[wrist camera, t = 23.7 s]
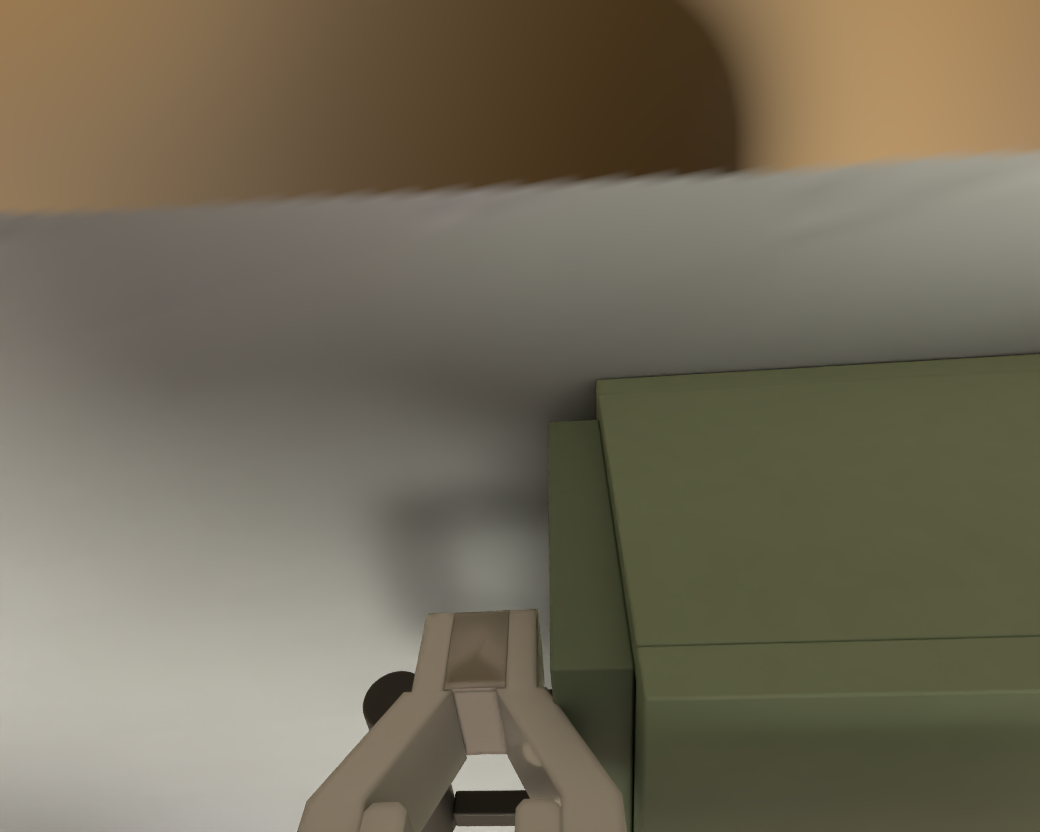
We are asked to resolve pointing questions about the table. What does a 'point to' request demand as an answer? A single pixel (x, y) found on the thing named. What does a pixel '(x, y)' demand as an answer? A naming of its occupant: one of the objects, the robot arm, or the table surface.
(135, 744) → the table surface
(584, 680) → the drawer
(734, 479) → the cabinet
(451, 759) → the robot arm
